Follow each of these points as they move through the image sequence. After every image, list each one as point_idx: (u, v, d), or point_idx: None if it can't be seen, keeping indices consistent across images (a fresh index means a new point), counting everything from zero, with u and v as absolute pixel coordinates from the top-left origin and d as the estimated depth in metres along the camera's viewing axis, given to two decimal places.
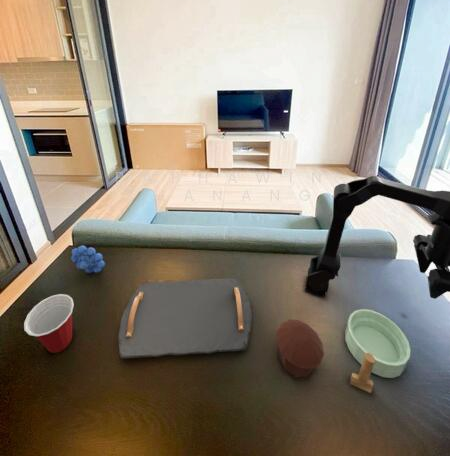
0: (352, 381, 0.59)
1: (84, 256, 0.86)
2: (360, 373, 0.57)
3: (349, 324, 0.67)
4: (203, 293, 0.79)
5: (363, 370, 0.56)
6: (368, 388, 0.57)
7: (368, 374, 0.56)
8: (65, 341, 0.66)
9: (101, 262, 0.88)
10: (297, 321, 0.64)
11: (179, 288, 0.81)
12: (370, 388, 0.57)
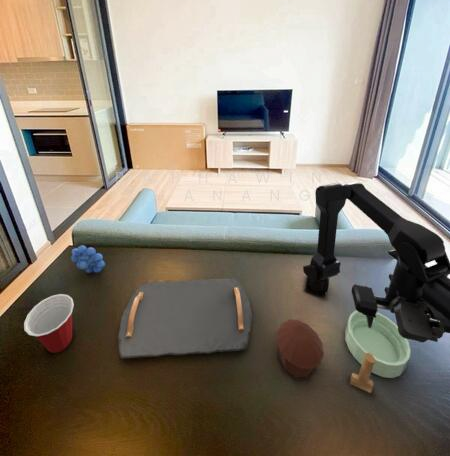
0: (352, 381, 0.59)
1: (84, 256, 0.86)
2: (360, 373, 0.57)
3: (349, 324, 0.67)
4: (203, 293, 0.79)
5: (363, 370, 0.56)
6: (368, 388, 0.57)
7: (368, 374, 0.56)
8: (65, 341, 0.66)
9: (101, 262, 0.88)
10: (297, 321, 0.64)
11: (179, 288, 0.81)
12: (370, 388, 0.57)
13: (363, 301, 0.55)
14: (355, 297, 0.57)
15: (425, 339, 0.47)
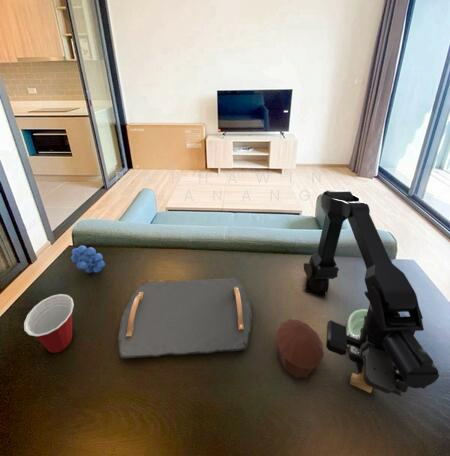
0: (352, 381, 0.59)
1: (84, 256, 0.86)
2: (360, 373, 0.57)
3: (349, 324, 0.67)
4: (203, 293, 0.79)
5: None
6: (368, 388, 0.57)
7: None
8: (65, 341, 0.66)
9: (101, 262, 0.88)
10: (297, 321, 0.64)
11: (179, 288, 0.81)
12: (370, 388, 0.57)
13: (333, 340, 0.55)
14: (327, 334, 0.57)
15: (388, 391, 0.46)
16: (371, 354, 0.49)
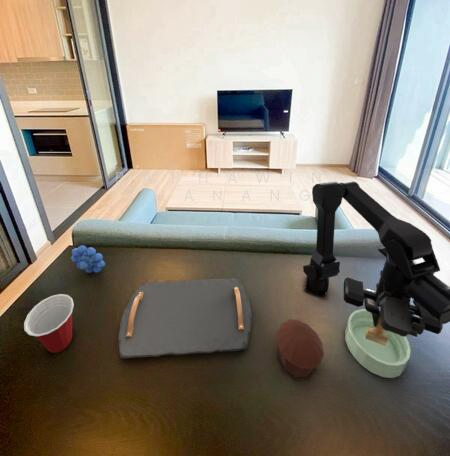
0: (367, 335, 0.62)
1: (84, 256, 0.86)
2: None
3: (349, 324, 0.67)
4: (203, 293, 0.79)
5: (379, 323, 0.59)
6: (383, 341, 0.60)
7: None
8: (65, 341, 0.66)
9: (101, 262, 0.88)
10: (297, 321, 0.64)
11: (179, 288, 0.81)
12: (385, 341, 0.60)
13: (351, 292, 0.58)
14: (344, 288, 0.60)
15: (404, 333, 0.49)
16: (388, 302, 0.52)
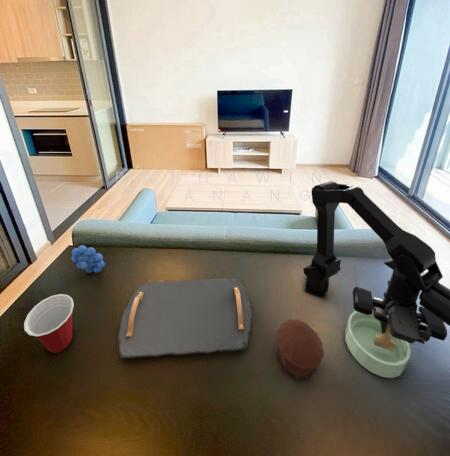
0: (376, 341, 0.65)
1: (84, 256, 0.86)
2: None
3: (349, 324, 0.67)
4: (203, 293, 0.79)
5: (387, 330, 0.62)
6: (391, 347, 0.64)
7: None
8: (65, 341, 0.66)
9: (101, 262, 0.88)
10: (297, 321, 0.64)
11: (179, 288, 0.81)
12: (392, 347, 0.64)
13: (360, 301, 0.61)
14: (354, 298, 0.63)
15: (412, 340, 0.52)
16: (396, 311, 0.56)
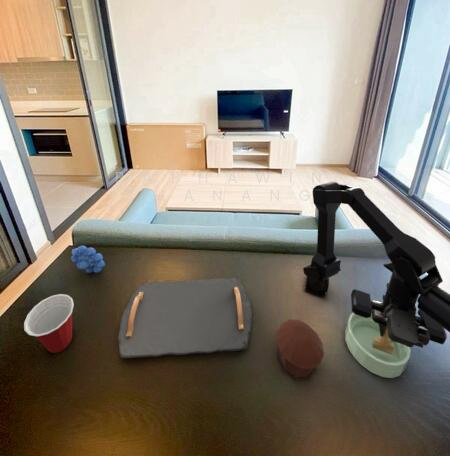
0: (374, 344, 0.65)
1: (84, 256, 0.86)
2: (382, 336, 0.63)
3: (349, 324, 0.67)
4: (203, 293, 0.79)
5: (385, 333, 0.62)
6: (390, 350, 0.63)
7: None
8: (65, 341, 0.66)
9: (101, 262, 0.88)
10: (297, 321, 0.64)
11: (179, 288, 0.81)
12: (391, 350, 0.63)
13: (359, 304, 0.60)
14: (352, 300, 0.63)
15: (411, 344, 0.52)
16: (395, 314, 0.55)
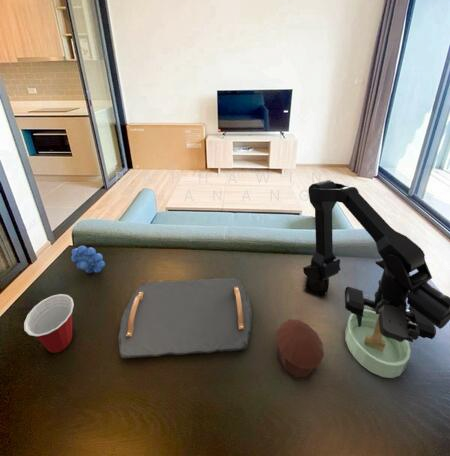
0: (366, 341, 0.66)
1: (84, 256, 0.86)
2: (374, 333, 0.65)
3: (349, 324, 0.67)
4: (203, 293, 0.79)
5: (377, 330, 0.64)
6: (381, 347, 0.65)
7: None
8: (65, 341, 0.66)
9: (101, 262, 0.88)
10: (297, 321, 0.64)
11: (179, 288, 0.81)
12: (382, 347, 0.65)
13: (352, 301, 0.62)
14: (346, 297, 0.64)
15: (401, 338, 0.53)
16: (386, 310, 0.57)
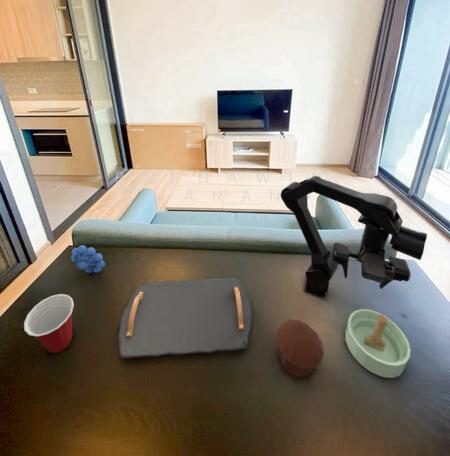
0: (366, 341, 0.66)
1: (84, 256, 0.86)
2: (374, 333, 0.65)
3: (349, 324, 0.67)
4: (203, 293, 0.79)
5: (377, 330, 0.64)
6: (381, 347, 0.65)
7: (381, 333, 0.63)
8: (65, 341, 0.66)
9: (101, 262, 0.88)
10: (297, 321, 0.64)
11: (179, 288, 0.81)
12: (382, 347, 0.65)
13: (338, 252, 0.70)
14: (333, 251, 0.72)
15: (379, 278, 0.61)
16: (367, 256, 0.65)
